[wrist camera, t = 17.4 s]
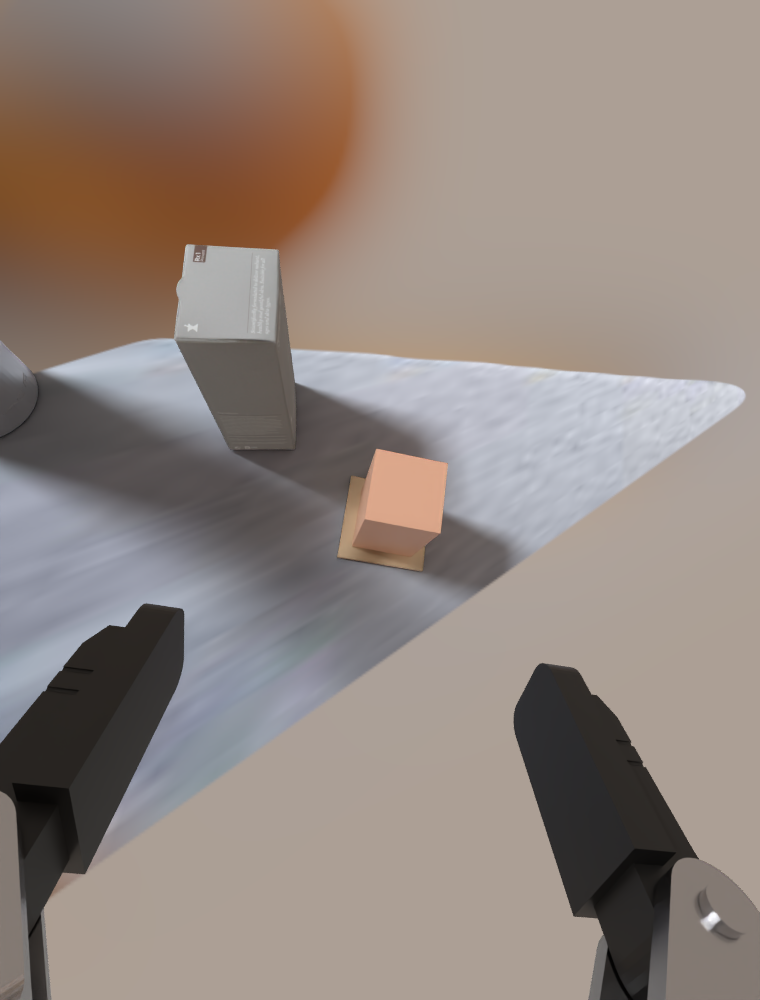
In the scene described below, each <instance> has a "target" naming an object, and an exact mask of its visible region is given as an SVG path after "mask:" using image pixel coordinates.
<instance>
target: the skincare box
mask: <svg viewBox="0 0 760 1000" xmlns="http://www.w3.org/2000/svg"><path fill="white" fill-rule="evenodd" d="M176 291H177V295H178V298H179V304H178V310H177V318H176V327H175V336H174V338H175V341H176V343H177V345H178V347H179V349H180V351H181V353H182V355H183V357H184V359H185V361H186V363H187V365H188V367H189V369H190V371H191V373H192V375H193V377H194V379H195V381H196V383H197V385H198V387H199V389H200V391H201V393H202V395H203V397H204V399H205V401H206V403H207V405H208V407H209V409H210V411H211V413H212V415H213V417H214V419H215V421H216V423H217V425H218V427H219V429H220V431H221V433H222V435H223V437H224V439H225V441H226V443H227V445H228V447H229V449H230V450H255V449H288V450H294V449H295V444H296V391H295V380H294V372H293V365H292V356H291V350H290V342H289V334H288V326H287V318H286V310H285V303H284V295H283V288H282V279H281V270H280V260H279V251H278V250H272V249H255V248H236V247H220V246H203V245H187V246H186V249H185V258H184V265H183V274H182V279H181V280H180V281H179V283H178V284H177V290H176Z"/></svg>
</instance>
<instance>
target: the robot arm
mask: <svg viewBox="0 0 760 1000" xmlns="http://www.w3.org/2000/svg"><path fill="white" fill-rule="evenodd" d="M37 398H38V386H37V381H36V378H35V377H34V375H33V373H32V372H31V370H30V369H29V368H28V367H27V366H26V365H25V364H24V363H23V362H22V361H21V360H20V359H19V358H18V357H16V355H14V354H13V353H12V352H11V351H10V350H9V349H8V348H7V347H6V346H5V345H4V344H3V343H2V342H1V341H0V437H1V436H3V435H5V434H7V433H9V432H11V431H13V430H14V429H15V428H17V427H18V426H20V425H21V424H22V423H23V422H24V421H25V420H26V419H27V418H28V417H29V415H30V414H31V412H32V410H33V409H34V407H35V404H36V401H37ZM183 661H184V611H183V609H180V608H174V607H167V606H160V605H153V604H143V605H142V606H141V607H140V608H139V609H138V610H137V612H136V613H135V615H134V616H133V617H132V619H131V620H130V621H129V623H128V624H127V625H126V627H119V626H111V625H109V626H107V627H106V628H104V629H103V630H101V631H100V632H98V633H97V634H95V635H94V636H92V637H91V638H89V639H88V640H86V641H85V642H83V643H82V644H81V646H80V647H79V648H78V649H77V651H76V652H75V653H74V654H73V655H72V657H71V658H70V659H69V660H68V662H67V663H66V664H65V665H64V668H63V670H62V671H59V673H58V674H57V675H56V676H55V677H54V679H53V680H52V681H51V682H50V684H49V685H48V686H47V690H46V691H43V692H42V693H41V695H40V696H39V697H38V698H37V699H36V701H35V702H34V703H33V704H32V706H31V707H30V708H29V709H28V710H27V712H26V713H25V714H24V715H23V717H22V718H21V719H20V720H19V721H18V723H17V724H16V725H15V726H14V728H13V729H12V730H11V731H10V732H9V734H8V735H7V736H6V737H5V739H4V740H3V741H2V742H1V743H0V1000H51V990H50V977H49V966H48V954H47V944H46V930H45V918H44V906H45V904H46V903H47V901H48V899H49V897H50V895H51V893H52V891H53V889H54V887H55V886H56V884H57V882H58V880H59V878H60V876H61V874H62V872H64V873H76V874H85V873H86V871H87V869H88V867H89V865H90V863H91V861H92V859H93V857H94V855H95V853H96V851H97V849H98V847H99V845H100V843H101V841H102V839H103V837H104V834H105V832H106V830H107V828H108V826H109V824H110V822H111V820H112V818H113V816H114V814H115V812H116V810H117V808H118V806H119V804H120V802H121V800H122V798H123V796H124V794H125V792H126V790H127V788H128V786H129V784H130V782H131V779H132V777H133V775H134V773H135V771H136V769H137V767H138V765H139V763H140V761H141V759H142V757H143V755H144V753H145V751H146V749H147V747H148V745H149V743H150V741H151V739H152V737H153V735H154V733H155V731H156V729H157V727H158V724H159V722H160V720H161V718H162V716H163V714H164V712H165V710H166V708H167V706H168V704H169V702H170V700H171V698H172V696H173V694H174V692H175V690H176V687H177V685H178V682H179V679H180V676H181V672H182V668H183ZM514 730H515V735H516V738H517V741H518V744H519V747H520V751H521V754H522V757H523V760H524V763H525V766H526V769H527V772H528V776H529V779H530V782H531V785H532V788H533V791H534V794H535V798H536V801H537V804H538V807H539V810H540V813H541V816H542V819H543V822H544V826H545V828H546V832H547V835H548V838H549V841H550V844H551V847H552V850H553V853H554V856H555V859H556V863H557V866H558V869H559V872H560V875H561V878H562V882H563V885H564V888H565V891H566V894H567V897H568V900H569V903H570V906H571V909H572V913H573V916H575V917H588V918H598V920H599V923H600V925H601V928H602V931H603V934H604V935H603V936H602V937H601V939H600V940H599V943H598V947H597V952H596V958H595V964H594V970H593V975H592V981H591V988H590V994H589V999H588V1000H760V912H759V911H758V910H757V908H756V907H755V905H754V904H753V903H752V901H751V900H750V899H749V898H748V897H747V895H746V894H745V893H744V892H743V891H742V890H741V889H740V888H739V887H738V886H737V885H736V884H735V883H734V882H733V881H732V880H731V879H730V878H729V877H728V876H726V875H725V874H724V873H722V872H721V871H720V870H718V869H717V868H715V867H713V866H712V865H710V864H708V863H706V862H704V861H701V860H699V858H698V857H697V855H696V854H695V852H694V851H693V849H692V847H691V846H690V844H689V842H688V840H687V838H686V837H685V835H684V833H683V831H682V830H681V828H680V826H679V824H678V823H677V821H676V819H675V817H674V816H673V814H672V812H671V810H670V809H669V807H668V805H667V804H666V802H665V800H664V798H663V796H662V795H661V793H660V792H659V790H658V788H657V786H656V784H655V783H654V781H653V779H652V777H651V775H650V774H649V772H648V770H647V769H646V767H643V765H642V763H643V762H642V760H641V758H640V756H639V755H638V753H637V751H636V749H635V748H634V747H633V746H631V741H630V739H629V737H628V735H627V734H626V732H625V730H624V728H623V727H622V725H621V723H620V721H619V720H618V718H617V717H616V716H615V714H614V713H613V712H612V711H611V710H610V709H609V708H608V707H607V706H606V705H605V704H604V703H603V701H602V700H601V699H600V698H599V697H598V696H597V695H591V693H590V691H589V689H588V687H587V686H586V684H585V682H584V680H583V678H582V676H581V675H580V673H579V672H578V671H577V670H576V669H574V668H571V667H565V666H558V665H551V664H544V663H542V664H539V665H538V666H537V667H536V669H535V670H534V672H533V674H532V676H531V678H530V680H529V682H528V684H527V686H526V688H525V690H524V692H523V694H522V695H521V697H520V699H519V701H518V703H517V705H516V708H515V712H514Z"/></svg>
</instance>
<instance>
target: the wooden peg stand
mask: <svg viewBox="0 0 760 1000" xmlns="http://www.w3.org/2000/svg"><path fill="white" fill-rule="evenodd" d="M365 479H366V478H361V477H355V476H351V480H350V486H349V491H348V497H347V503H346V509H345V515H344V521H343V526H342V532H341V538H340V544H339V550H338V555H337V558H343V559H349V560H355V561H361V562H367V563H373V564H379V565H385V566H391V567H397V568H403V569H409V570H415V571H423V563H424V553H425V546H424V547H423V548H422V549H420V550H419V551H418V552H416V553H415V554H414V555H413V556H411V557H408V556H402V555H397V554H391V553H386V552H380V551H375V550H369V549H364V548H358V547H353V546H352V542H353V536H354V531H355V525H356V519H357V513H358V508H359V502H360V496H361V490H362V487H363V485H364V482H365Z"/></svg>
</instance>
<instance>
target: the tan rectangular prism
mask: <svg viewBox="0 0 760 1000" xmlns="http://www.w3.org/2000/svg"><path fill="white" fill-rule="evenodd" d="M447 467H448V463H443V462H438V461H434V460H429V459H424V458H419V457H414V456H409V455H405V454H400V453H395V452H390V451H385V450H381V449H376V451H375V454H374V457H373V460H372V462H371V465H370V468H369V471H368V474H367V476H366V479H365V482H364V485H363V487H362V490H361V496H360V502H359V508H358V513H357V519H356V525H355V531H354V536H353V542H352V546H353V547H358V548H364V549H369V550H375V551H380V552H386V553H391V554H397V555H402V556H408V557H411V556H413V555H414V554H415V553H416V552H418V551H419V550H420V549H422V548H423V547H424V546H425V545H427V544H428V543H429V542H430V541H432V540H433V539H434V538H435V537H437V536H438V535H439V534H441V524H442V515H443V505H444V496H445V486H446V476H447Z"/></svg>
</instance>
